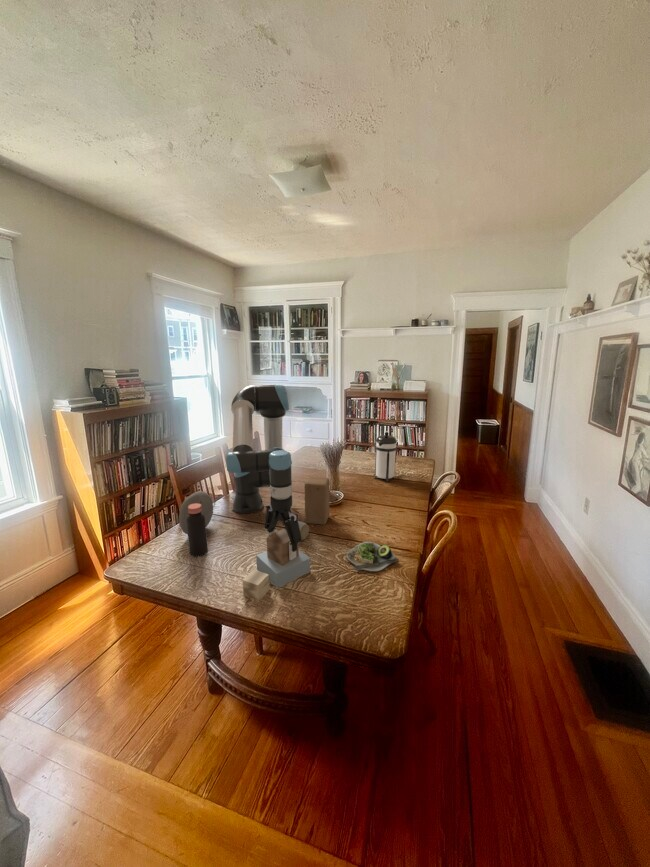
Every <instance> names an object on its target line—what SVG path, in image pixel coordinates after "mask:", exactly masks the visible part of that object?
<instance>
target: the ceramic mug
mask: <svg viewBox="0 0 650 867" xmlns="http://www.w3.org/2000/svg"><path fill="white" fill-rule="evenodd" d="M298 524H299V529H300V534H301V539H302V541H303V540H306V538H307V537H308V535H309V531H310V527H309V525H308V523H306V522H304V521H300V520H298ZM284 529H285V530H286V528H285V527H284Z"/></svg>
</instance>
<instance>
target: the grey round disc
mask: <svg viewBox="0 0 650 867" xmlns="http://www.w3.org/2000/svg"><path fill="white" fill-rule="evenodd" d="M195 503H198V504H201V507H202V512H201V513H202V514H203V515H204V516H205V523H206V528H207V527H208V525H209V524H210V522H211V520H212V518H213V514H214V504H213V503H214V502H213V500H212V497H211V496H210V495H209V494H208V493H207V492H206V491H202V490H200V491H196V492H193V493H191V494H190V495H188V497H187V498H186V499H184V501H183V502H182V503H181V506H180V509H179V516H178V523H179V528H180V529H181V531H182V532H183V533H184V534H186V535H187V536H188V531H187V522H186V519H187V517H188V516H189V513H188V506H189V505H191V504H195Z"/></svg>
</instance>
